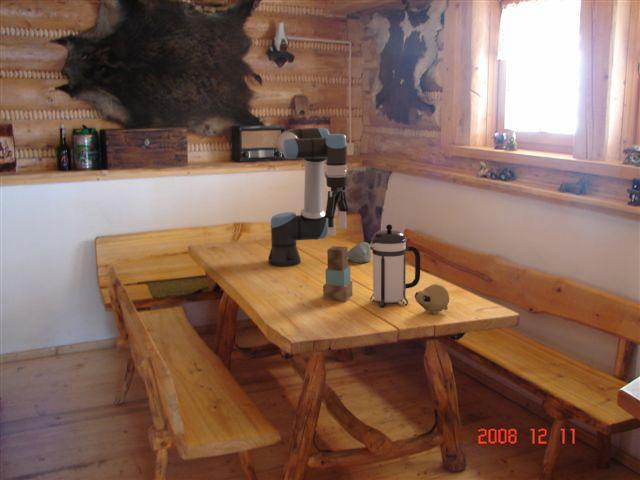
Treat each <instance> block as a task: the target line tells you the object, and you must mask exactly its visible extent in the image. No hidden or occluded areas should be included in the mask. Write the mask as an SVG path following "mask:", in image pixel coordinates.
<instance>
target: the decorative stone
mask: <svg viewBox="0 0 640 480" xmlns="http://www.w3.org/2000/svg"><path fill="white" fill-rule="evenodd" d="M371 249H372V248H370V243H369V242H365V241H364V242H359V243H357V244H356V245H354V246H353V247H352V248H351V249H349V250H348V260H349V261H351V262H353V263H358V264H365V263H369V262H371V260H372V252H371V251H372V250H371Z"/></svg>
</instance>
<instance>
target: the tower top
mask: <svg viewBox="0 0 640 480" xmlns="http://www.w3.org/2000/svg"><path fill="white" fill-rule="evenodd" d="M351 279H352V278H351V266H349V265H348V267H347V268H346V269H345V270H343V271H336V270H328V267H327V268H326V269H325V284H326V285H333V286H345V285H347V284H348V283H349V282H350V281H352V280H351Z"/></svg>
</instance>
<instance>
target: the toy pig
mask: <svg viewBox="0 0 640 480" xmlns="http://www.w3.org/2000/svg"><path fill="white" fill-rule="evenodd" d="M414 297H415V298H414V299H415V301H416V302H417V304H419V305H420V306H421V307H422V308H423V309H424V310H425V312H428V313H432V315H433V316H437V315H438V313H439V312H442V311H444V310H445V311H447V310H448V309H449V307H448V305H449V301H450V294H449V292H448V290H447V288H446V287H445V286H444V285H442V284H441V283H433V284H432V285H429V286H427V287H426V288H424V289H422V290H419V291H417V292H415V293H414Z"/></svg>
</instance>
